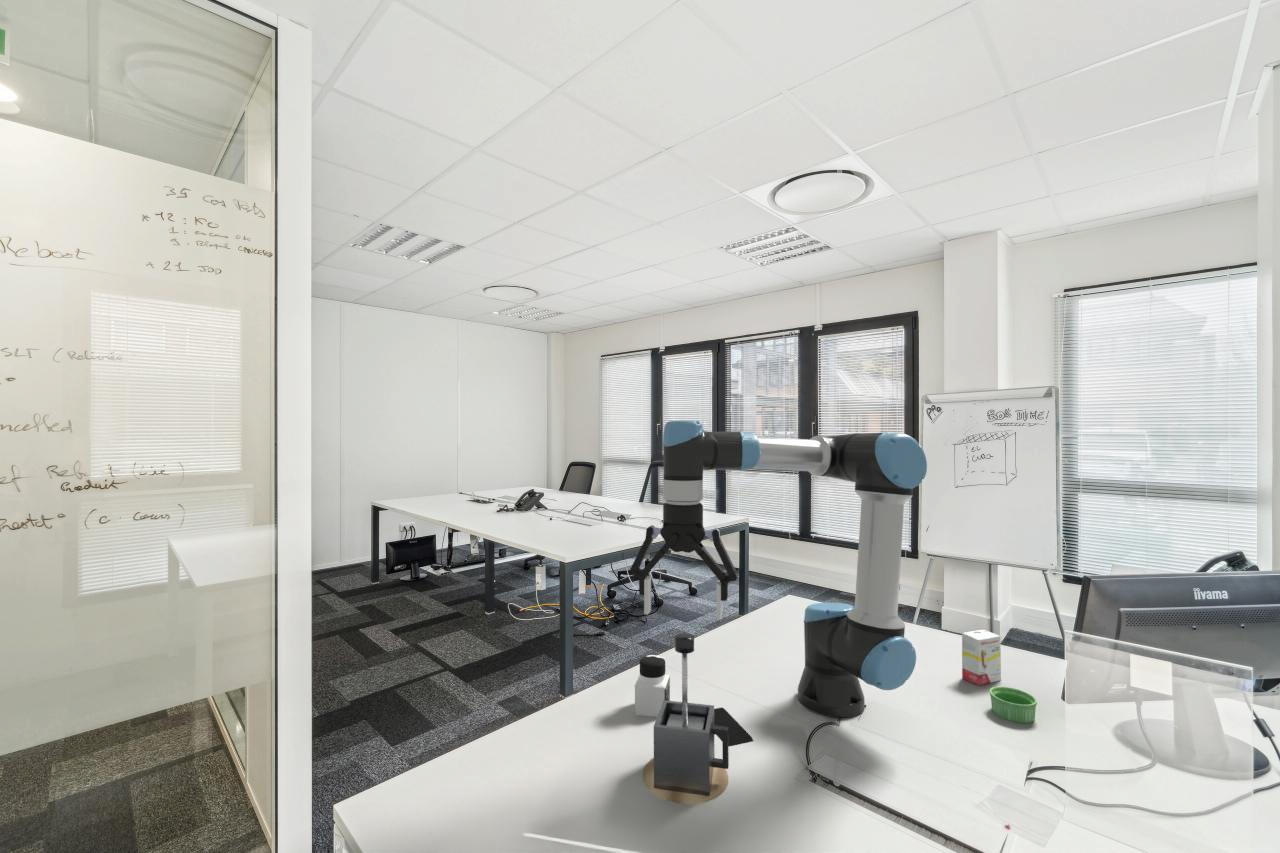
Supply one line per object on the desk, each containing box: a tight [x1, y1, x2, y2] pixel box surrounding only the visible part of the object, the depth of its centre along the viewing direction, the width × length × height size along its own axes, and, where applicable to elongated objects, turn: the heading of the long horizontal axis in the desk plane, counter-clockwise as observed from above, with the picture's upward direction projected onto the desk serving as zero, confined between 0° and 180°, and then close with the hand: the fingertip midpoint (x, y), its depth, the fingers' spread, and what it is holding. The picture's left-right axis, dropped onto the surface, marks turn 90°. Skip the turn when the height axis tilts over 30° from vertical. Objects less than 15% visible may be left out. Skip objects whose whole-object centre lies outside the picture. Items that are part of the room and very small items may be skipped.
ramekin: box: [988, 686, 1038, 724], centre depth 123 cm, size 9×9×4 cm
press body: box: [653, 700, 730, 796], centre depth 100 cm, size 13×10×11 cm
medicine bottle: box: [634, 654, 671, 718], centre depth 125 cm, size 7×7×12 cm
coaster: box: [642, 757, 730, 805], centre depth 100 cm, size 16×16×1 cm
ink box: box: [961, 629, 1002, 687], centre depth 140 cm, size 9×5×12 cm, turn 110°
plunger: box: [666, 633, 705, 730], centre depth 101 cm, size 7×7×17 cm
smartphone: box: [714, 707, 754, 748], centre depth 117 cm, size 7×1×15 cm
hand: (682, 615), depth 101 cm, fingers open, 13 cm apart
